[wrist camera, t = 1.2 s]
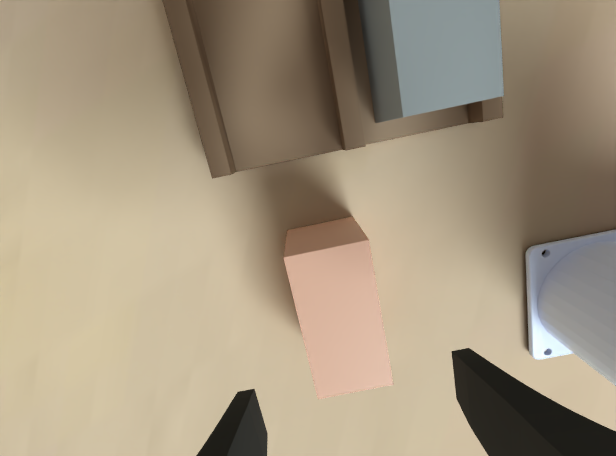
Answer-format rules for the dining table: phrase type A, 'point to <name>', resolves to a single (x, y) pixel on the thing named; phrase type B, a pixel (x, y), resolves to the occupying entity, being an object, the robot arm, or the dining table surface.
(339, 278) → the plug block
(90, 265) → the dining table surface
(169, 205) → the dining table surface
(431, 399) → the dining table surface
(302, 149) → the comb rack
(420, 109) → the slate block
